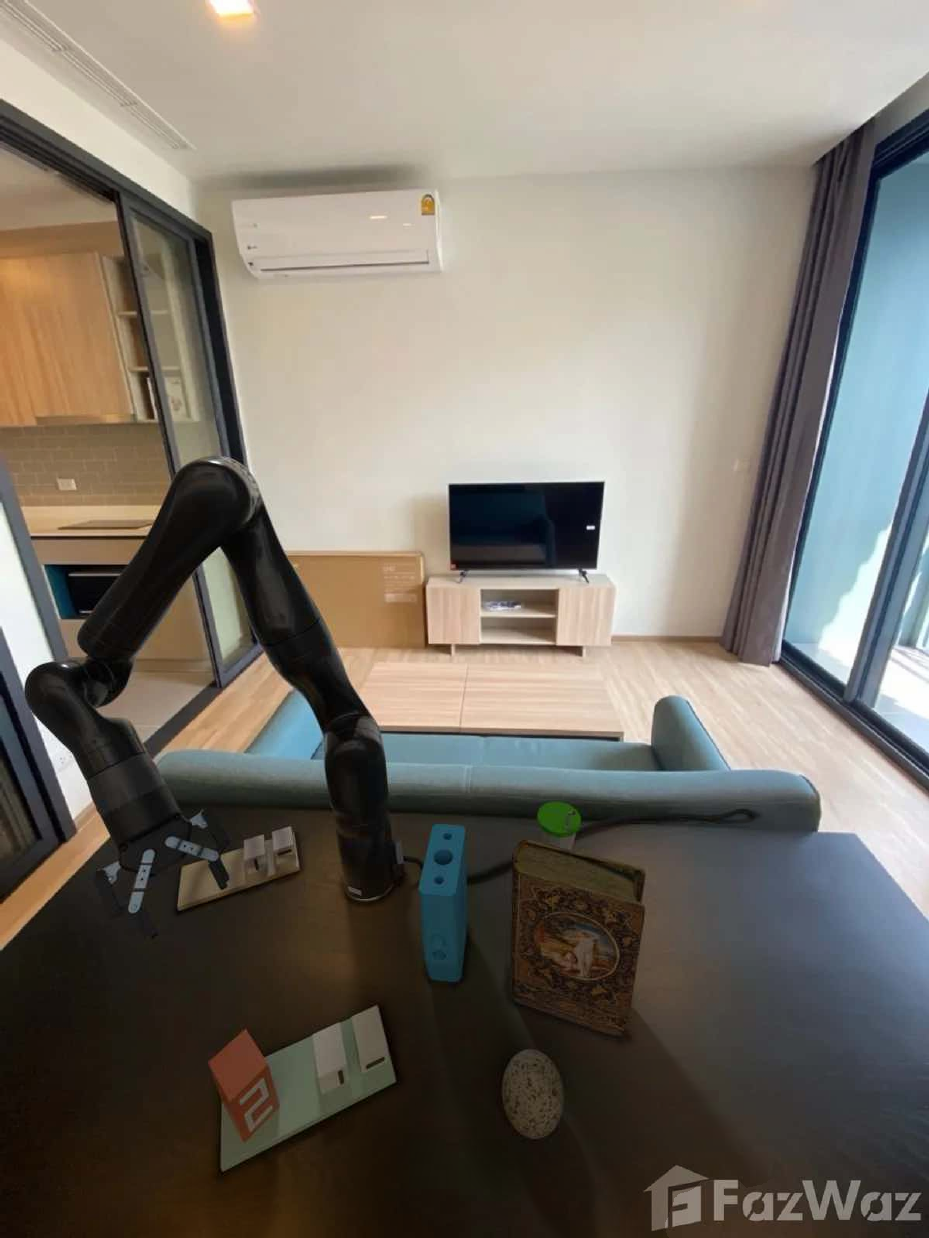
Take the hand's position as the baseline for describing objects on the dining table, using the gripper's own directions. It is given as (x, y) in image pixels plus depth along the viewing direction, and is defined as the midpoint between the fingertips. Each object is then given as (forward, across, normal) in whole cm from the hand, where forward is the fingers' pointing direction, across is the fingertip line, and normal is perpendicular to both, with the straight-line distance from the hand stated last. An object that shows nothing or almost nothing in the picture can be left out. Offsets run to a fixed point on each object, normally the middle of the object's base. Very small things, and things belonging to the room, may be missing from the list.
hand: (191, 911), depth 63 cm
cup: (+31, +52, -2) cm, 61 cm away
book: (+39, +33, -15) cm, 53 cm away
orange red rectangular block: (+23, -3, 0) cm, 24 cm away
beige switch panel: (+4, +11, +29) cm, 32 cm away
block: (+28, +26, -1) cm, 38 cm away
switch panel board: (+26, +3, -1) cm, 26 cm away
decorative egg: (+40, +19, -18) cm, 48 cm away
